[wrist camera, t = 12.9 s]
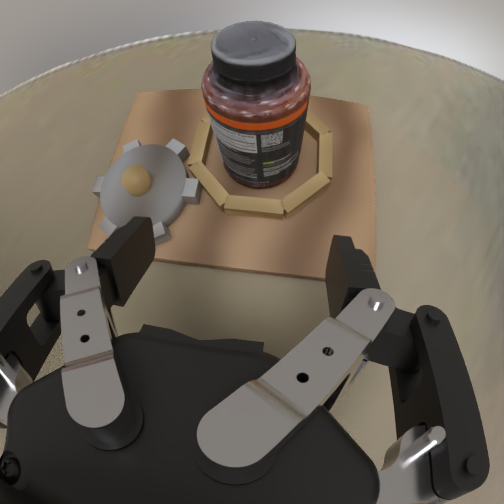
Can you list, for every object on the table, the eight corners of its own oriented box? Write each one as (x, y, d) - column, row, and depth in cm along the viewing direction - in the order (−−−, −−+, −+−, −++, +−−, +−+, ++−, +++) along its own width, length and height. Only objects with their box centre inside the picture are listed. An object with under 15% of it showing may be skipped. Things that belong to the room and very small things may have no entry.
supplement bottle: (259, 115, 23) (253, 2, 12) (314, 156, 22) (344, 42, 11) (206, 159, 22) (166, 47, 11) (261, 207, 21) (256, 97, 10)
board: (94, 251, 22) (67, 239, 18) (142, 99, 25) (129, 74, 21) (368, 284, 20) (390, 277, 17) (364, 113, 24) (376, 85, 20)
